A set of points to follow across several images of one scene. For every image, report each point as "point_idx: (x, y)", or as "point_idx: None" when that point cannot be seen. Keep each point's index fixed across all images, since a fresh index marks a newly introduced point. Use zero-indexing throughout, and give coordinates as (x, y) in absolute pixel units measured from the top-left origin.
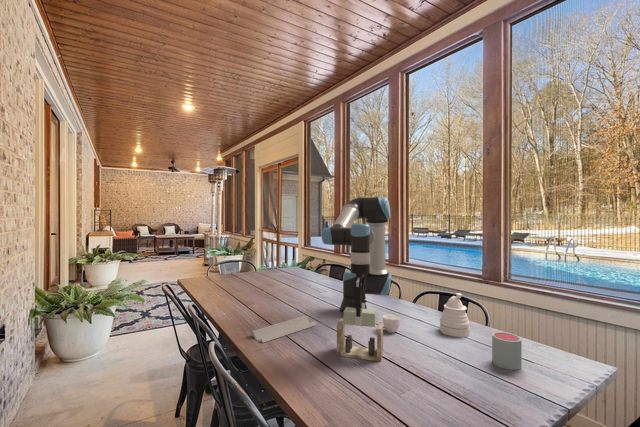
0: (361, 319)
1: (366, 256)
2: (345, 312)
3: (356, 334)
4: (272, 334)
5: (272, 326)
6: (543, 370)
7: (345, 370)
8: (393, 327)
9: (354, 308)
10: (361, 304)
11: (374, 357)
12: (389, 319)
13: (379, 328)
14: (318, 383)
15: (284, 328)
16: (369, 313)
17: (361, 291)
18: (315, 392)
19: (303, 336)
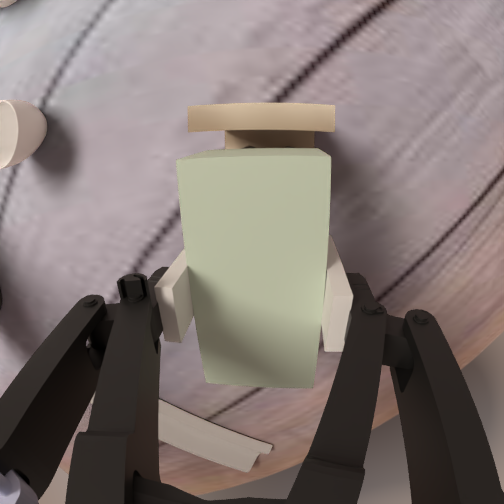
0: (337, 254)
1: None
2: (314, 374)
3: (100, 243)
4: (218, 441)
5: (199, 452)
6: None
7: (406, 236)
8: (37, 115)
9: (214, 337)
10: (377, 323)
11: (311, 141)
12: (18, 132)
13: (325, 116)
14: (468, 290)
15: (176, 429)
16: (329, 207)
17: (363, 450)
18: (497, 286)
19: (193, 389)
